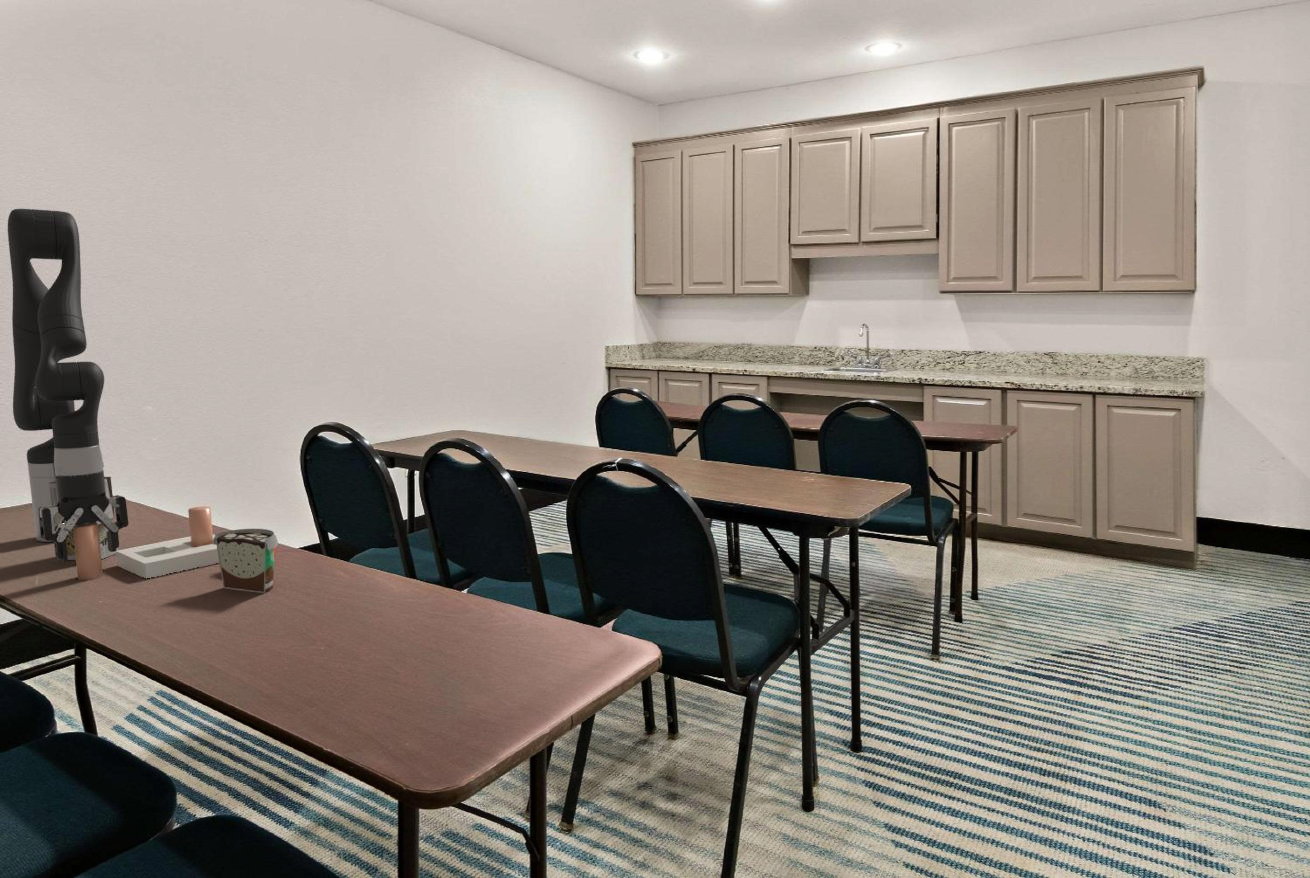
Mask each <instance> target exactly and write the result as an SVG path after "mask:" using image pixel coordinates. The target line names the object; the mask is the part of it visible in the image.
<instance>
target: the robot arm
mask: <svg viewBox="0 0 1310 878" xmlns="http://www.w3.org/2000/svg"><path fill="white" fill-rule="evenodd" d="M7 237H8V240H7V241H8V250H9V258H10V266H11V268H10V269H11V278H12V281H11V282H12V311H11V312H12V315H11V319H12V320H11V321H12V342H13V353H14V379H13V398H12V414H13V419H14V423H15V425H16V426H17V428H19V430H21V431H28V432H31V431H33V432H35V431H47V430H49V431H50V430H52V437H51V438H49V439H48V440H46V441H45V442H42V443H40V444H37V445H35V446H32V447H30V448H28V450H27V451H26V461H27V469H28V476H29V478H28V479H29V485H30V486H29V487H30V494H31V502H32V503H31V505H32V514H33V521H34V531H35V539H36V541H38V542H44V543H49V542H53V546H54V555H55V557H56V558H57V560H58V559H60V560H59V561H61V562H67V561H69V560H68V556H67V546H66V542H65V541H64V539H65V538H66V536H67V534H68V533H69V532H70V531H71V530H72V528H73V527H74V525H77V526H79V525H83V524H86V523H96V522H97V521H99V522H100V523H101V524H102V525H103V526H105V527H106V528H107V529H108V532H106V533H107V543H108V550H109V551H111V552H115V551H116V548H118V549H119V547H120V539H119V537H120V536H119V531H120V530H121V529H123V528H128V526H129V516H128V507H127V506H128V505H127V498H126V497H125V496H122V495H118V494H116V495H115V496H113V497H112V498H107V496H106V490H105V480H104V477H105V473H104V471H105V470H104V467H105V465H104V460H103V454H102V450H101V447H100V439H99V427H98V416H99V415H98V414H99V408H100V402H101V398H102V395H103V390H104V385H105V374H104V372H103V370H102V368H101V366H99V364H97V363H95V362H93V361H77V362H76V361H68V362H67V361H66V362H64V361H63V362H60V361H62V360H65V359H69V358H73V357H76V356H79V355H81V354H83V353H84V352H85V351H86V349H87V337H86V331H85V326H84V325H85V324H84V319H83V313H82V312H83V311H82V301H81V300H82V297H81V296H82V295H81V294H82V293H81V292H82V291H81V288H82V273H81V271H82V268H81V265H82V264H81V248H80V247H81V244H80V243H81V242H80V233H79V227H78V224H77V221H76V218H75V217H74V215H72V214H71V213H70V212H67V211H60V210H50V209H49V210H48V209H36V208H32V209H31V208H14V209H12V210H11V211H10V213H9V215H8V218H7ZM32 259H38V260H55V261H56V260H57V261H58V260H59V261H61V266H60V271H59V273H58V275H57V277H56V279H54V280H55V281H53V283H52V285H51V287H49V288H48V287H47V286H46V285H45V283H44V282H43V281H42V280H41V278H40V277H39V275H38V274H37V273H36V270H35V269H34V267H33V264H32V262H31V260H32ZM75 401H83V402H82V404H81V406H80V407H79V408H78V409H76V408H75ZM75 409H76V410H75ZM54 481H56V484H57V493H58V504H57V506H54V507H51V499H50V491H49V483H50V482H54ZM109 504H111V506H112V507H113V508H114V513H115V523H113V522H112V520H111V519H110V518H109V517H108V516H107V515H106V514H105V513H104V512H105V510H106V509H107V507H108V506H109ZM56 512H58V513H59V514H60V515H61V516H63V518H62V520H61V521H60V523H59V524H58V528H57V529H56V531H54V523H53V518H54V516H55V513H56Z"/></svg>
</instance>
